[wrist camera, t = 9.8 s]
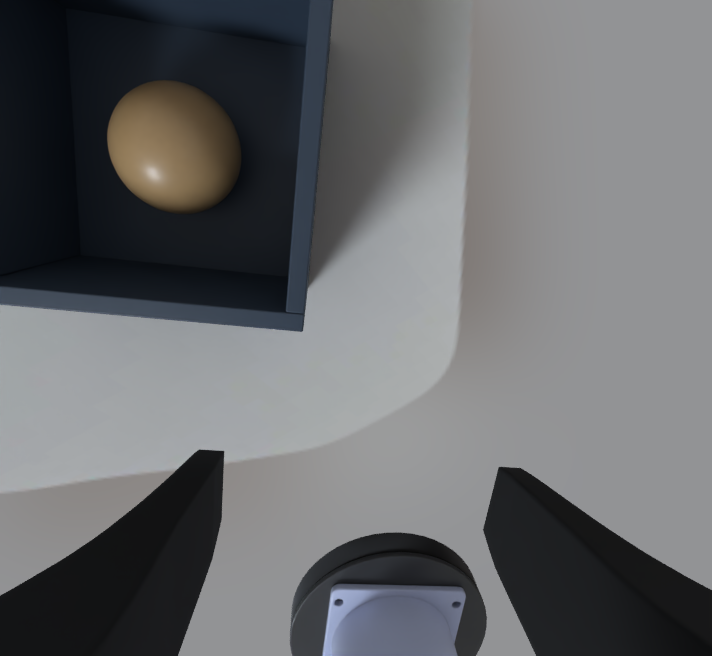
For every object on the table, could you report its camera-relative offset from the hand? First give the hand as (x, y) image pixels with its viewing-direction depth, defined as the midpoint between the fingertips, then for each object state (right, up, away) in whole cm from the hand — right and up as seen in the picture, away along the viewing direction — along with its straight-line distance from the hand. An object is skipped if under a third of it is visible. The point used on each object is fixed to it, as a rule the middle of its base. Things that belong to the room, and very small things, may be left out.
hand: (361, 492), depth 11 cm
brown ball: (-7, +11, +6) cm, 15 cm away
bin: (-7, +11, +7) cm, 15 cm away
